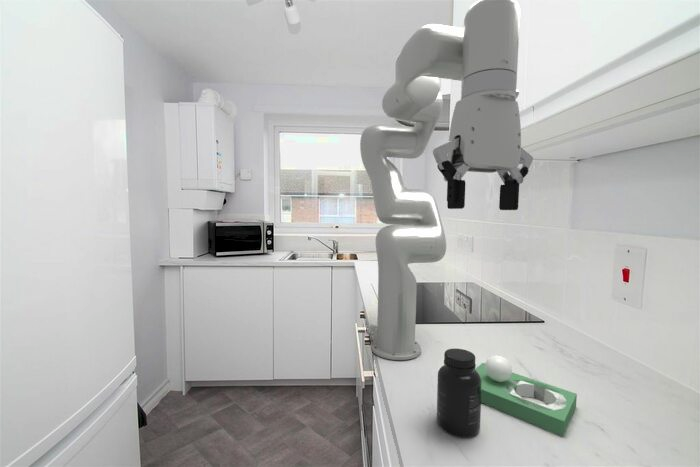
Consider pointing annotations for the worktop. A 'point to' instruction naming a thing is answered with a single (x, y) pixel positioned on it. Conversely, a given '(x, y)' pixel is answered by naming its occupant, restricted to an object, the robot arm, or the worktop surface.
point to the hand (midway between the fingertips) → (482, 209)
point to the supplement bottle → (459, 394)
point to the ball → (498, 368)
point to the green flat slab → (511, 401)
